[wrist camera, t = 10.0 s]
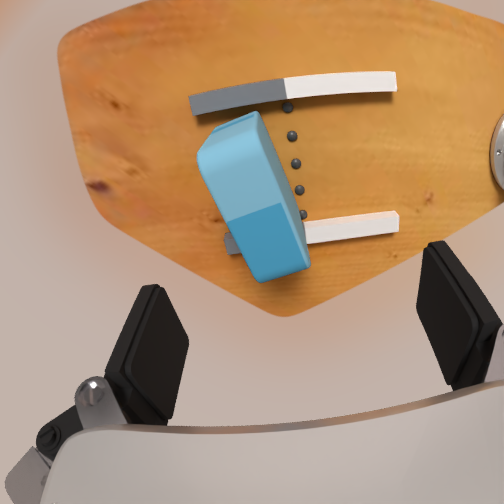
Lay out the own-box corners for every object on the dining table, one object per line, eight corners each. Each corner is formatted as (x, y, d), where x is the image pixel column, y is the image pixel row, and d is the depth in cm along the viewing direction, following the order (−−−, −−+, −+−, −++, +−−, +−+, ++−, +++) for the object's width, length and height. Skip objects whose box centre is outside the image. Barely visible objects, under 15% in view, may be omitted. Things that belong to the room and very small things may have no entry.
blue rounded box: (215, 125, 30) (191, 158, 20) (257, 108, 29) (255, 131, 19) (261, 222, 36) (260, 292, 26) (299, 209, 35) (313, 275, 25)
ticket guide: (389, 71, 26) (395, 71, 25) (394, 225, 35) (398, 231, 34) (191, 95, 28) (188, 96, 27) (229, 247, 38) (227, 254, 37)
